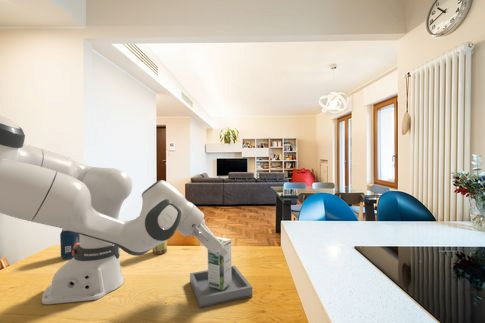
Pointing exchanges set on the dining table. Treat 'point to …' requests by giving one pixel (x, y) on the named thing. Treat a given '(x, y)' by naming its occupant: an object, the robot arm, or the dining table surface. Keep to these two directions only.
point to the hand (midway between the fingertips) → (221, 248)
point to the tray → (216, 296)
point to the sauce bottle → (160, 248)
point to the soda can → (68, 243)
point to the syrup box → (220, 266)
